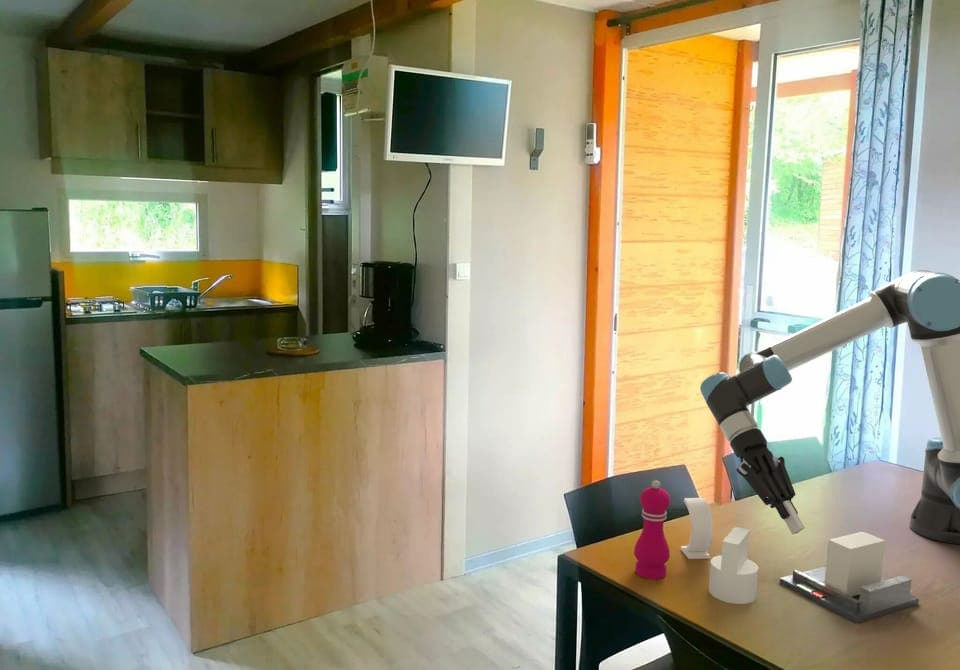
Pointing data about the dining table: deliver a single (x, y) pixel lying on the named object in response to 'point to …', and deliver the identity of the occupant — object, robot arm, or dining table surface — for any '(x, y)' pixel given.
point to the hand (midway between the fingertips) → (798, 531)
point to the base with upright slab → (734, 570)
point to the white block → (854, 562)
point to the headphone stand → (699, 529)
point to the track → (855, 608)
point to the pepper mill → (653, 534)
